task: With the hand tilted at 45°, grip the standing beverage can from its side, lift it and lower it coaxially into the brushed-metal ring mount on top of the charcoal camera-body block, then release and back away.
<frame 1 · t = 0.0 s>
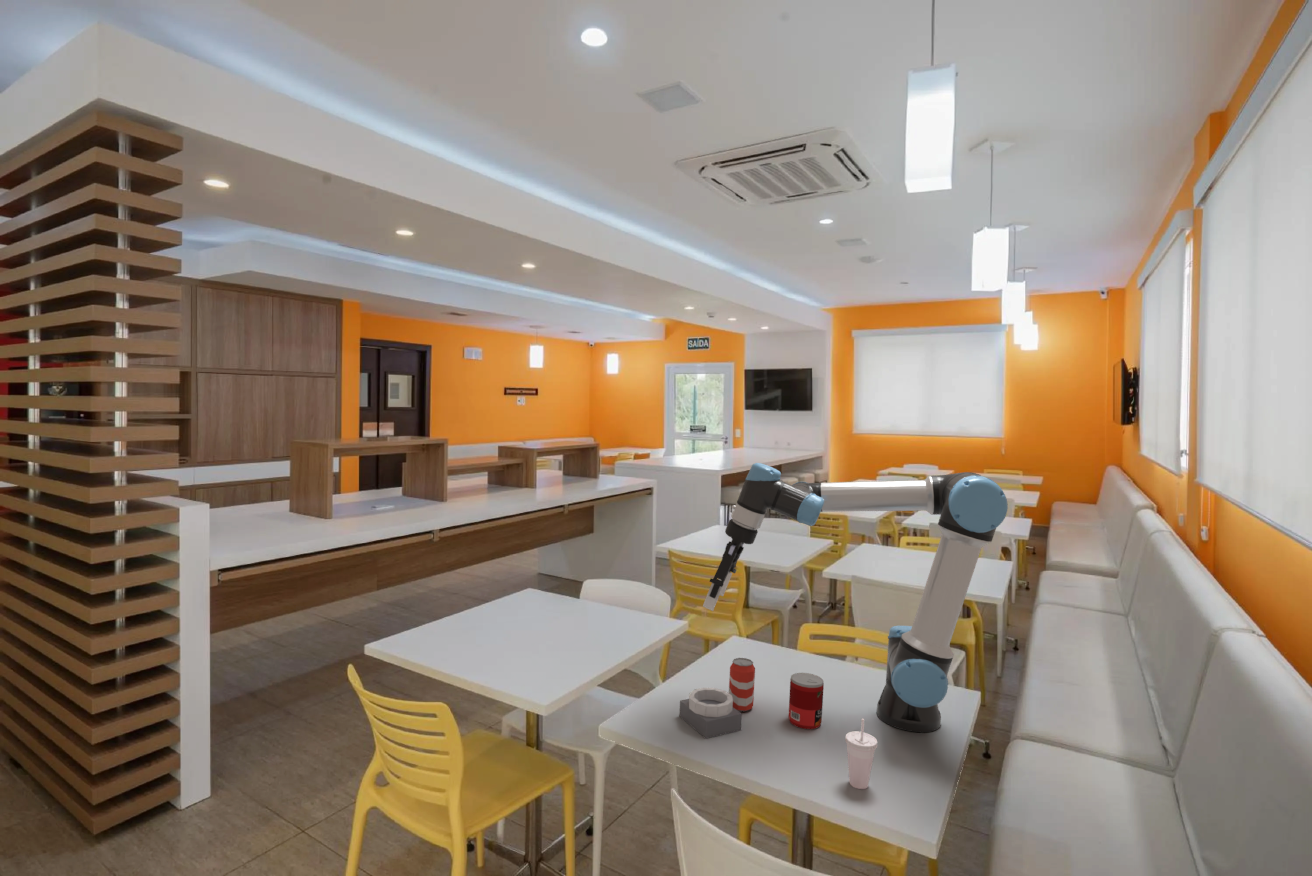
hand: (713, 601, 170), 28 cm above the table, tool tilted 20°, fingers open, 13 cm apart
smoothie: (858, 785, 140), on the table
canned food: (804, 723, 167), on the table
mount: (709, 723, 164), on the table
beverage can: (740, 708, 173), on the table
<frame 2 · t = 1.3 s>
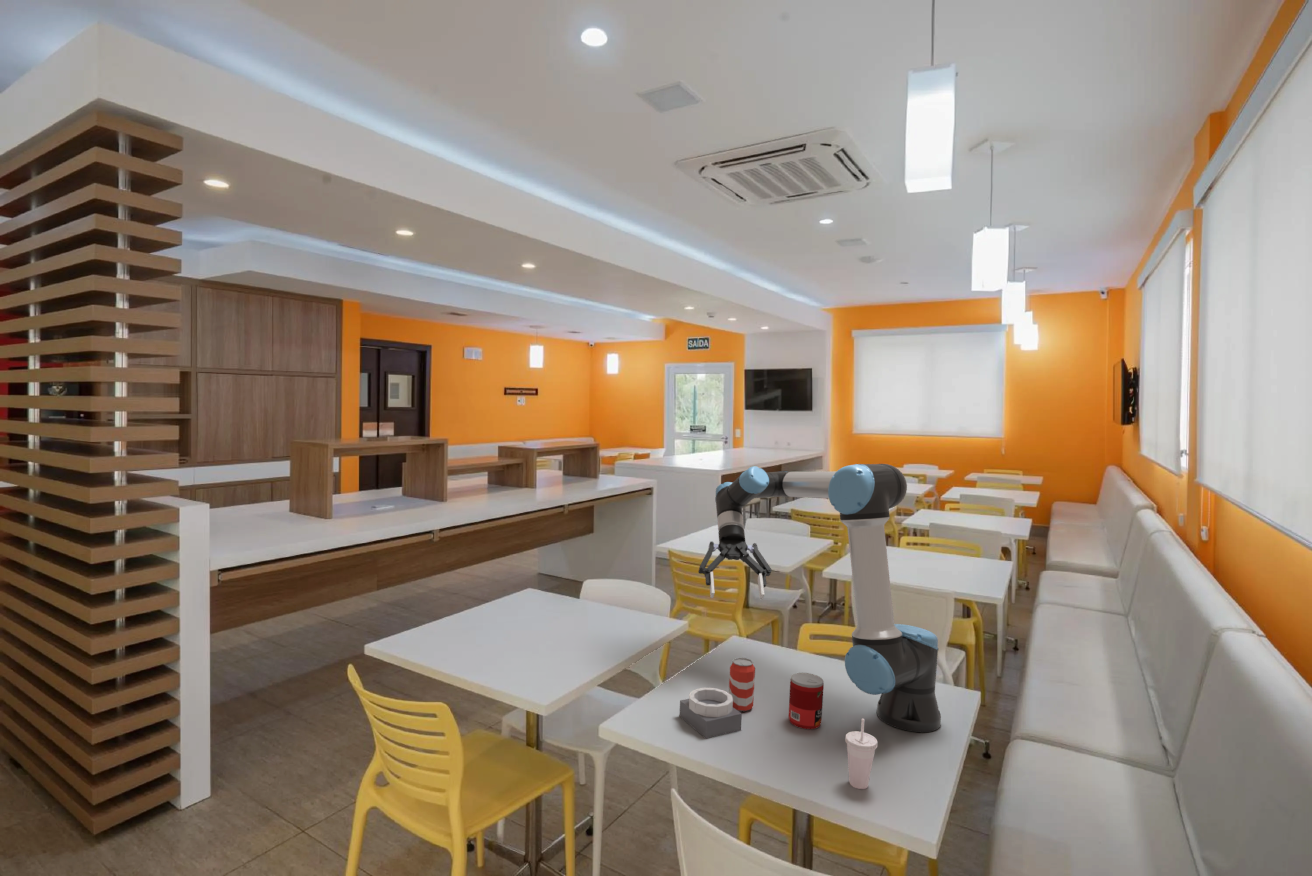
hand: (737, 596, 183), 26 cm above the table, tool tilted 45°, fingers open, 13 cm apart
nothing on the table moved.
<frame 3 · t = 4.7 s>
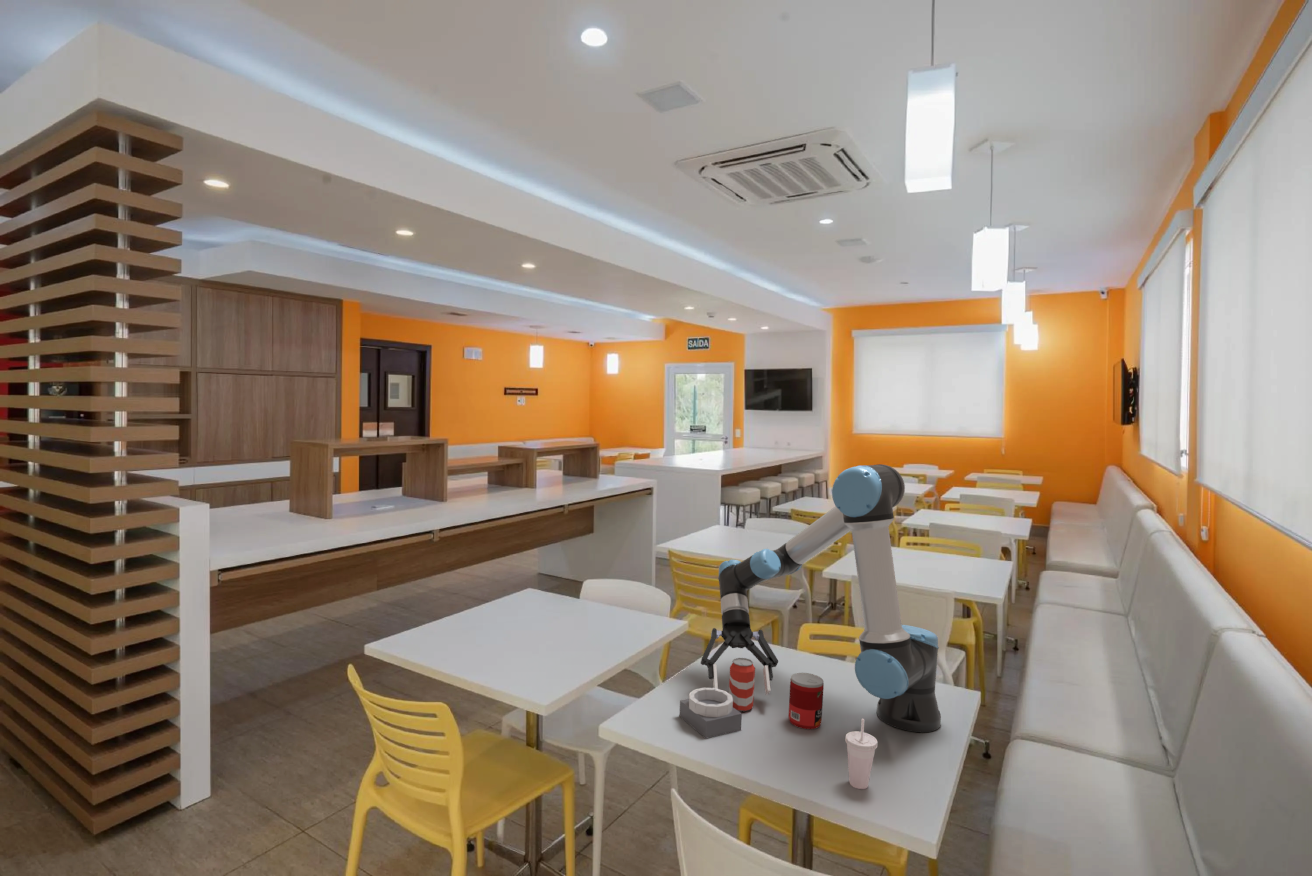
hand: (742, 692, 171), 5 cm above the table, tool tilted 45°, fingers open, 13 cm apart
nothing on the table moved.
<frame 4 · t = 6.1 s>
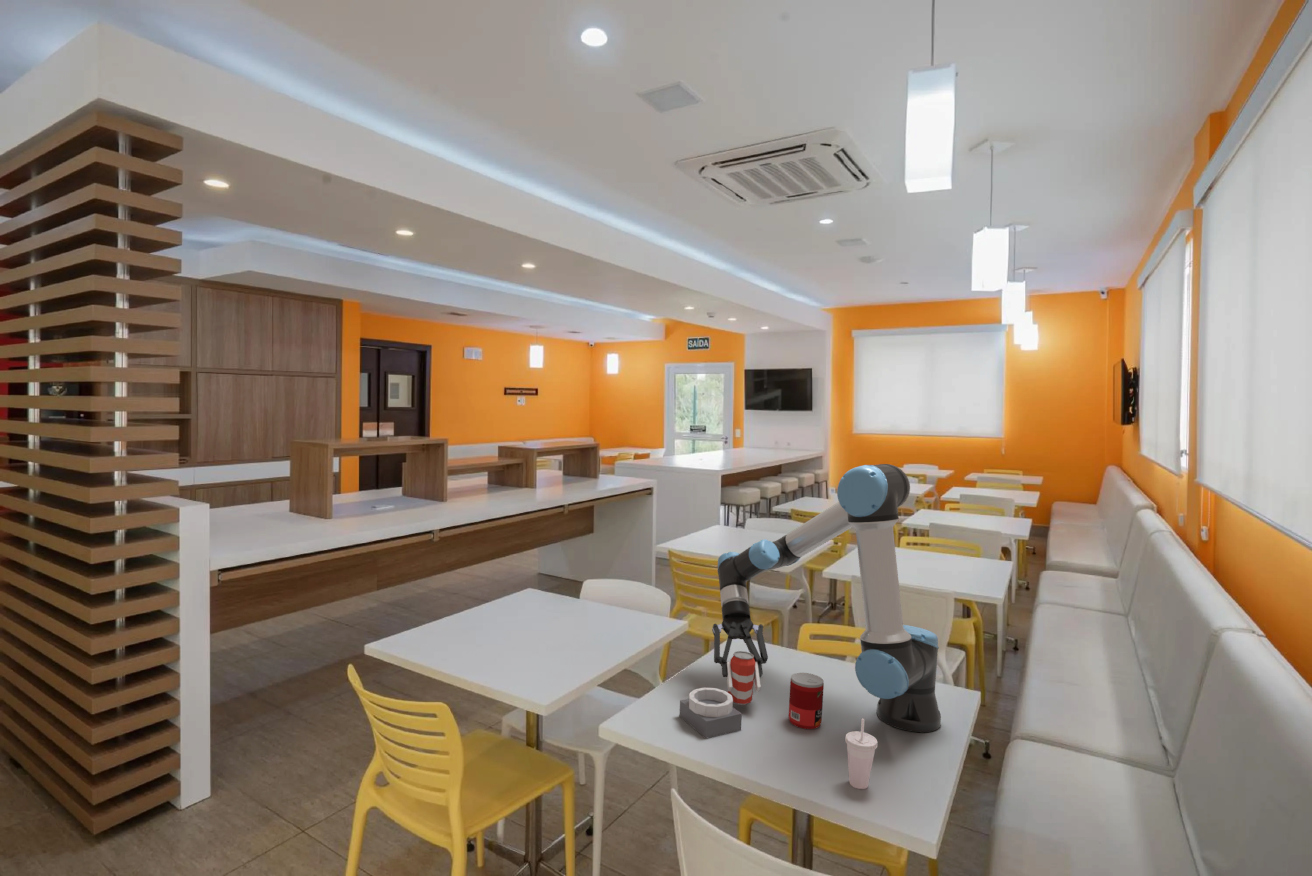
hand: (744, 689, 169), 6 cm above the table, tool tilted 45°, fingers closed on beverage can, 6 cm apart
beverage can: (739, 701, 173), point 2 cm above the table, touching gripper
everything else where it was.
when the fingers open (9 cm above the table, at t = 9.9 s): beverage can stays where it is, resting on mount.
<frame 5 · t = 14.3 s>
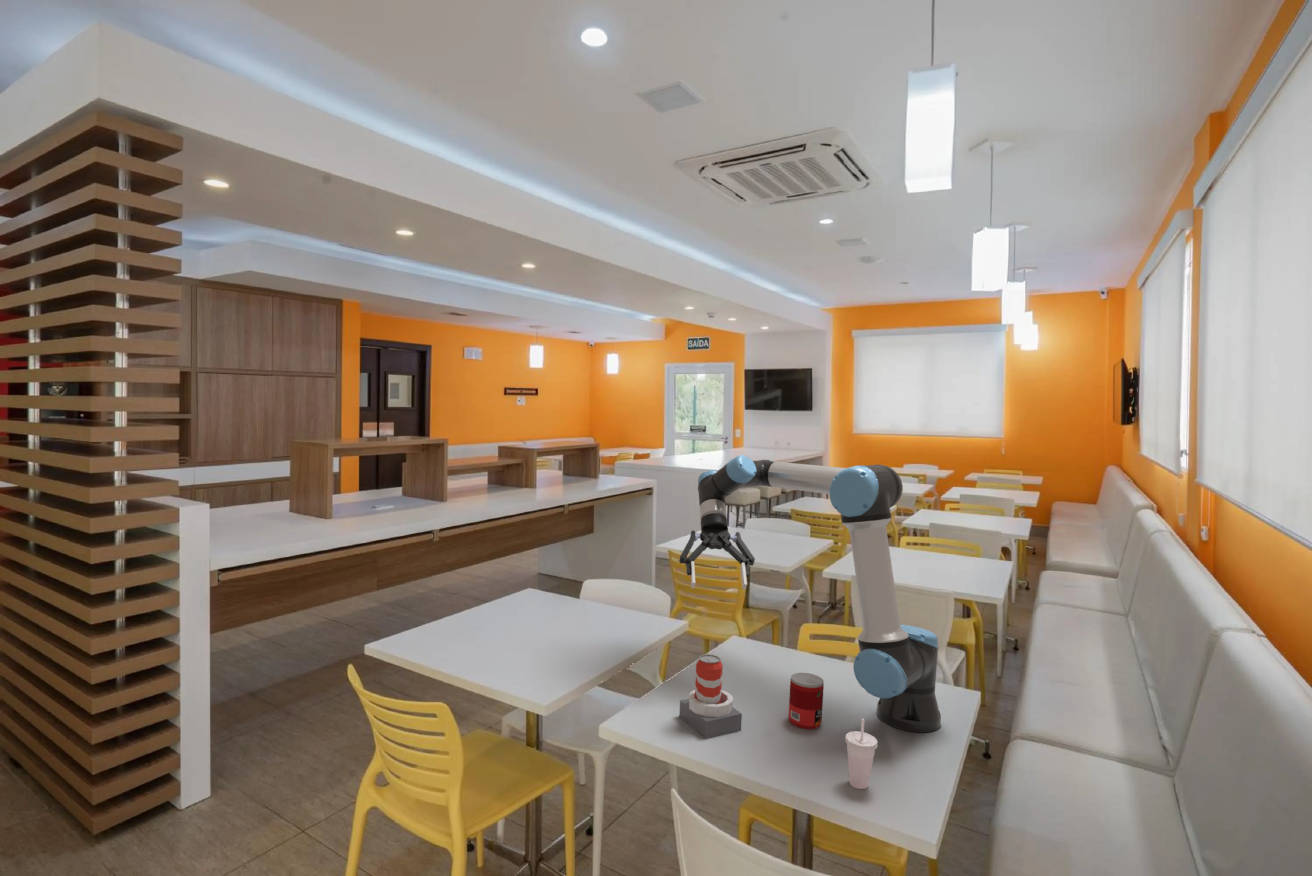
hand: (719, 586, 177), 30 cm above the table, tool tilted 45°, fingers open, 13 cm apart
beverage can: (707, 707, 164), point 4 cm above the table, touching mount
everything else where it was.
at the end: beverage can 0.7 cm from the mount (horizontally); beverage can tilted 0°; beverage can point 3.8 cm above the table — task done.
